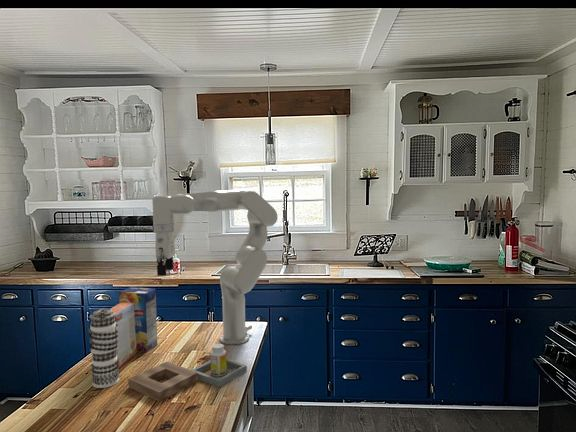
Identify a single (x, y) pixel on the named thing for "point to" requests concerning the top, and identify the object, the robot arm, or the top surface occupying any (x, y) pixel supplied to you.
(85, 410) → the top surface
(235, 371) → the square frame
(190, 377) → the socket block
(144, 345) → the blue cardboard box
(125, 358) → the cracker box
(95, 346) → the decorative candle
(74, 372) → the top surface
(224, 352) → the supplement bottle
